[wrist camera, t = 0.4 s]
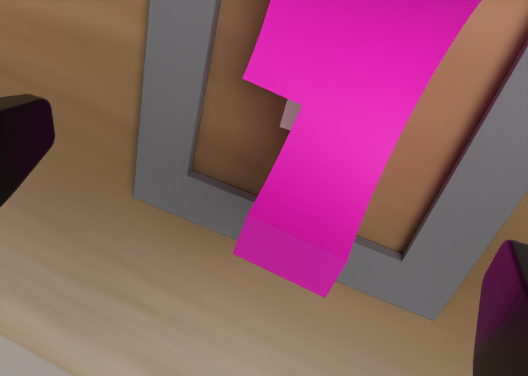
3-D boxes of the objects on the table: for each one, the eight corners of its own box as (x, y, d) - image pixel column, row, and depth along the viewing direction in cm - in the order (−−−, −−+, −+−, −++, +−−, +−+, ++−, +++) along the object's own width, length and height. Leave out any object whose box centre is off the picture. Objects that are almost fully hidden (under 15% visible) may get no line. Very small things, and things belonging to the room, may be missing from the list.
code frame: (992, -476, 10) (1019, -493, 10) (434, 312, 26) (433, 321, 26) (212, -617, 12) (203, -636, 12) (138, 191, 29) (133, 197, 28)
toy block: (371, -255, 15) (316, -333, 9) (563, -181, 15) (638, -213, 9) (242, 136, 24) (172, 224, 18) (357, 189, 24) (325, 297, 18)
